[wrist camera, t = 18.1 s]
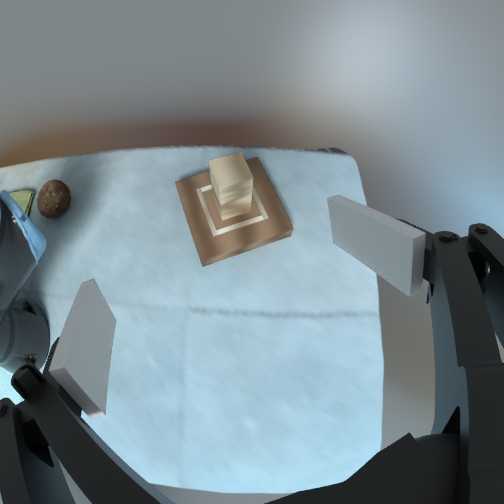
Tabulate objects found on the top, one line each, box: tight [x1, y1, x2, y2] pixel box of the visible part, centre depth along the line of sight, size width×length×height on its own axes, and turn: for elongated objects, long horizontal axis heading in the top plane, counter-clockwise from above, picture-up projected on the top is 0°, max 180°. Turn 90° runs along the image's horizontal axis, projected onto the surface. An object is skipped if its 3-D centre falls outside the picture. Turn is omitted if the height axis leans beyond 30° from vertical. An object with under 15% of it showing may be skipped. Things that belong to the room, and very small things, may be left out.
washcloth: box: [9, 190, 34, 215], centre depth 50 cm, size 13×18×3 cm
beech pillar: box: [208, 152, 253, 221], centre depth 45 cm, size 5×5×10 cm
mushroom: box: [37, 180, 71, 218], centre depth 50 cm, size 8×8×6 cm
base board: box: [175, 157, 293, 266], centre depth 51 cm, size 16×16×3 cm
